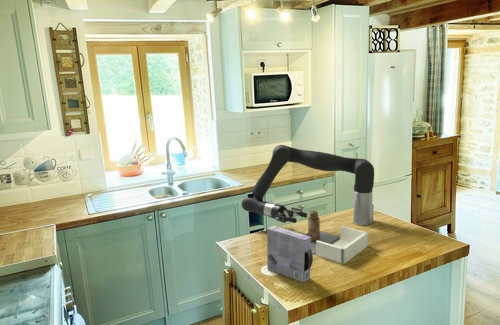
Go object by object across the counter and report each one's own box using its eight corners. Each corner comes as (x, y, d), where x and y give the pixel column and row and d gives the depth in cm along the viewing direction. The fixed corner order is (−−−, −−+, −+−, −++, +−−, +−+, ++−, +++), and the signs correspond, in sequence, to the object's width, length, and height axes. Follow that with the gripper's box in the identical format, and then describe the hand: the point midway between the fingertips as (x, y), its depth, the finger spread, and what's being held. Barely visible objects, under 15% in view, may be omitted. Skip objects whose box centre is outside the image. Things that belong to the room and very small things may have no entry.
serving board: (314, 231, 186) (314, 229, 186) (339, 238, 176) (339, 236, 176) (287, 247, 170) (287, 244, 170) (313, 255, 161) (313, 253, 161)
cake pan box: (313, 279, 143) (313, 236, 139) (306, 284, 139) (305, 240, 135) (274, 264, 155) (272, 224, 151) (266, 269, 152) (264, 228, 148)
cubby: (341, 239, 175) (341, 225, 174) (367, 247, 166) (368, 232, 165) (316, 256, 160) (315, 241, 159) (343, 265, 151) (343, 249, 150)
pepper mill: (315, 237, 177) (314, 209, 174) (322, 241, 172) (321, 212, 169) (306, 239, 174) (305, 211, 171) (312, 243, 170) (312, 214, 167)
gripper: (265, 207, 181) (292, 215, 170) (283, 200, 191) (310, 206, 180) (265, 222, 182) (292, 230, 171) (283, 214, 192) (310, 221, 181)
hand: (301, 218), depth 176 cm, fingers open, 8 cm apart
